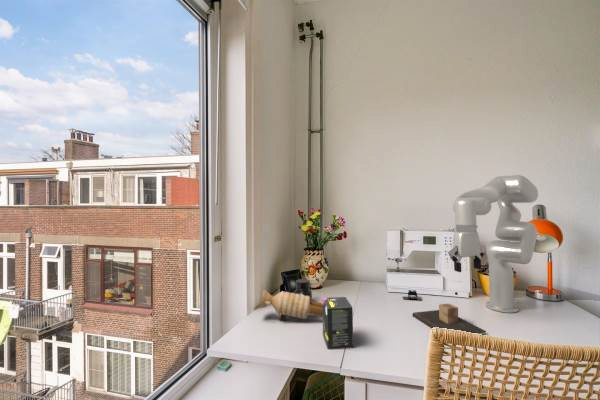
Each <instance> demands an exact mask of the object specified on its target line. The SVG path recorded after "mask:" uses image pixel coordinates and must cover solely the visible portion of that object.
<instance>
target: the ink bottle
mask: <svg viewBox="0 0 600 400" xmlns="http://www.w3.org/2000/svg"><path fill="white" fill-rule="evenodd" d="M310 283H311V281H310V280H309V279H306V278H299V279H296V280H295V288H296V289H295V290H294V291H293V293H294V294H299V295H304V296H309V297H310V300H311V301H313V293H312V290H311V289H310V288H311V284H310Z"/></svg>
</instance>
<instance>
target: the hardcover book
mask: <svg viewBox="0 0 600 400" xmlns="http://www.w3.org/2000/svg"><path fill="white" fill-rule="evenodd" d="M412 317H413V318H415V319H416V320H418V321H419V322H421V323H423V325H426V326H427V327H428V328H430V329H432V328H433V327H439V328H447V329H454V330H461V331H466V332H471V333H478V334H484V335H483V336H485V334H486V333H487V331H486V330H484V329H483V328H480V327H479V326H477V325H475V324H473V323H471V322H469V321H467V320H466V319H463V318H461V317H460V316H458V323H450V324H447V323H445V322H444V321H442V320H440V319H439V309H435V310H426V311H424V310H423V311H416V312H413V313H412Z"/></svg>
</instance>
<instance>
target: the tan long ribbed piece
mask: <svg viewBox="0 0 600 400" xmlns="http://www.w3.org/2000/svg"><path fill="white" fill-rule="evenodd" d="M261 294H262V295H261V298H260V303H259V309H263V308H266V307H268V306H270V305H271V306H272V308H273V309H274V310H275V312H276V313H277V314H278V315H280V317H279V321H280V322H285V321H286V317H287V316H288V317H293V318H294V317H295V318H297V320H298V321H299V320H300V319H303V320H306V319H307V318H308V315H309V314H311V315H316V316H321V317H323V302H317V301H313V300H312V301H311V300H310V297H309V296H304V295H299V294H294V292H289V291H283V290H282V291H280V292H278V293H277V294H275V295H274V296H273V295H271V294H270V293H269V292H268V291H267V290H266V289H263V290H262V293H261Z"/></svg>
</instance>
